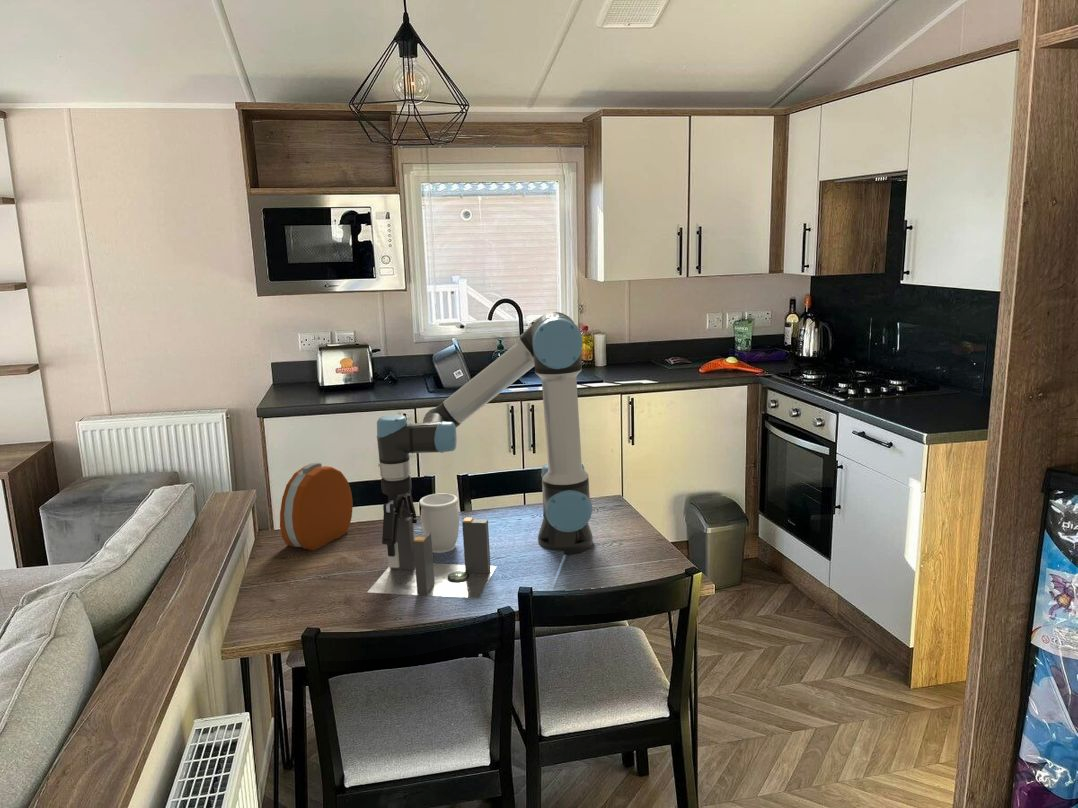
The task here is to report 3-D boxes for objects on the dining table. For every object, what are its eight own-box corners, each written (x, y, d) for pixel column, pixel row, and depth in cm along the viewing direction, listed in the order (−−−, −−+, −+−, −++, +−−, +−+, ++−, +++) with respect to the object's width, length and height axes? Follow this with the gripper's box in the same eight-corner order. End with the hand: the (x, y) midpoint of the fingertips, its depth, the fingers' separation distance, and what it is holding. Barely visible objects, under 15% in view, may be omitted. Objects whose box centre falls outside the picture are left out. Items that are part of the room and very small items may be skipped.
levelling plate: (496, 570, 210) (496, 563, 210) (479, 602, 193) (478, 594, 193) (393, 566, 215) (392, 558, 215) (367, 596, 198) (366, 589, 198)
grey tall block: (415, 566, 212) (411, 515, 209) (412, 570, 209) (408, 519, 206) (393, 565, 213) (389, 514, 210) (390, 569, 211) (386, 518, 207)
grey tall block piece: (490, 569, 208) (487, 518, 205) (488, 573, 206) (485, 521, 203) (467, 568, 209) (464, 517, 206) (465, 572, 207) (462, 520, 204)
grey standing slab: (425, 583, 201) (421, 530, 198) (434, 584, 201) (430, 530, 198) (417, 594, 196) (413, 540, 192) (427, 595, 195) (423, 540, 192)
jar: (454, 559, 218) (451, 506, 215) (417, 557, 220) (413, 505, 217) (465, 544, 228) (462, 493, 225) (430, 542, 230) (426, 492, 227)
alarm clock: (330, 523, 248) (323, 451, 243) (355, 528, 243) (349, 455, 238) (276, 550, 229) (267, 473, 224) (303, 555, 224) (295, 477, 219)
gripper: (397, 462, 218) (403, 538, 223) (363, 491, 195) (370, 576, 200) (424, 462, 216) (430, 539, 221) (393, 492, 194) (400, 577, 198)
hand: (402, 557), depth 210 cm, fingers open, 11 cm apart
